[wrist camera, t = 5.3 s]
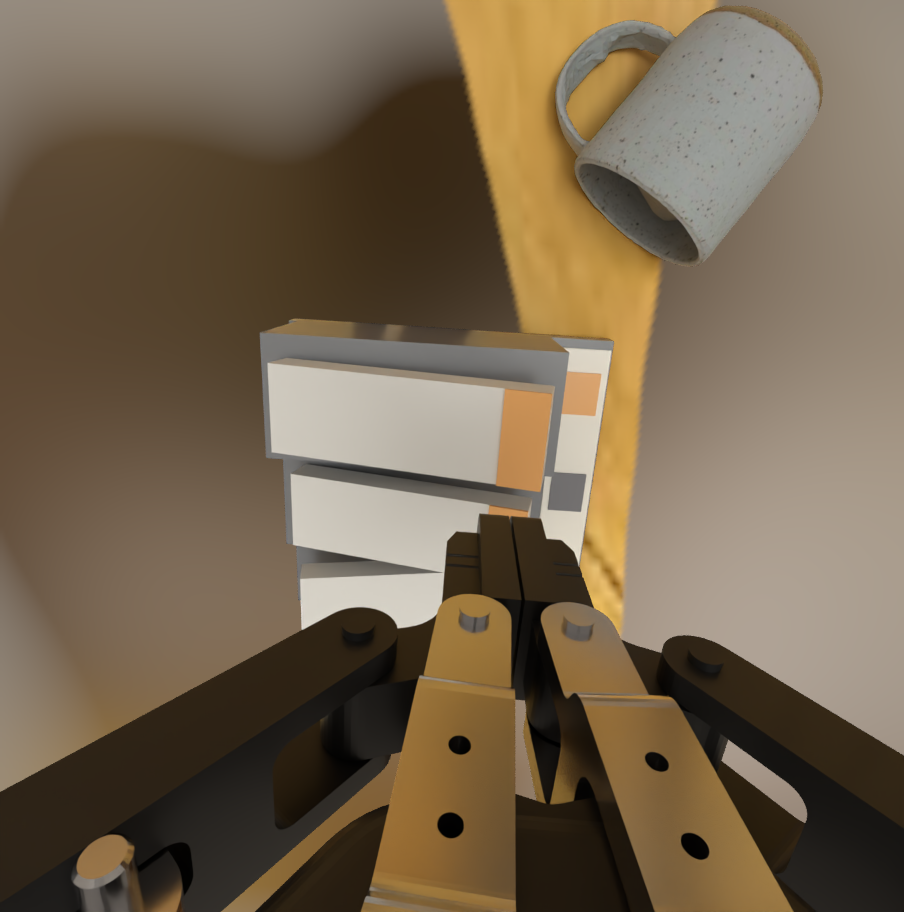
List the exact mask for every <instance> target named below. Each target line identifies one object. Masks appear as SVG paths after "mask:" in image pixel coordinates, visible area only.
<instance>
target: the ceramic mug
mask: <svg viewBox="0 0 904 912" xmlns="http://www.w3.org/2000/svg"><path fill="white" fill-rule="evenodd" d="M624 48H637V49H640V50H647V51H649V52H651V53H653V54H656V55H658V56H660V57H659V58H658V59H657V61H656V62H655V63H654V64H653V66H652V67H651V68H650V70H649V71H648V72H647V74H646V75H645V76H644V78H643V79H642V80H641V81H640V83H639V84H638V85H637V86H636V87H635V89H634V90H633V91H632V92H631V93H630V94H629V96H628V97H627V98H626V99H625V100H624V101H623V102H622V104H621V105H620V106H619V107H618V108H617V109H616V110H615V112H614V113H613V114H612V115H611V117H610V118H609V119H608V120H607V122H606V123H605V124H604V125H603V127H602V128H601V129H600V130H599V131H598V132H597V134H596V135H595V136H594V137H593V138H592V140H591V141H586V140H584V139H582V138H581V137H580V135H579V134H578V133H577V131H576V129H575V128H574V126H573V124H572V122H571V121H570V119H569V117H568V114H567V111H566V104H567V102H568V100H569V97H570V95H571V93H572V92H573V91H574V89H575V88H576V87H577V86H578V85H579V84H580V82H581V81H582V80H583V79H584V78H585V77H586V76H587V74H588V73H589V72H590V71H591V70H592V69H593V68H594V67H595V66H596V65H597V64H599V63H601V62H603V61H604V60H605V59H606V57H607V55H608V53H610V52H612V51H615V50H618V49H624ZM822 96H823V86H822V78H821V75H820V71H819V68H818V64H817V61H816V58H815V56H814V55H813V53H812V52H811V50H810V49H809V48H808V46H807V44H806V43H805V42H804V41H803V39H802V38H801V37H800V36H799V35H798V34H797V33H796V32H795V31H794V30H793V29H792V28H791V27H789V26H788V25H787V24H786V23H784V22H783V21H781V20H780V19H778V18H776V17H774V16H772V15H770V14H768V13H766V12H763V11H761V10H759V9H756V8H752V7H747V6H723V7H720V8H716V9H713V10H710V11H708V12H706V13H704V14H703V15H701V16H700V17H699V18H697V19H696V20H695V21H693V22H692V23H691V24H690V25H689V26H688V27H687V28H686V29H685V30H684V31H683V32H682V33H680V34H679V35H678V36H677V37H674V36H673V35H672V34H671V33H670V32H669V31H667V30H665V29H663V28H662V27H660V26H656V25H654V24H652V23H649V22H641V21H634V20H630V21H623V22H619V23H616V24H612V25H610V26H608V27H605V28H603V29H601V30H599V31H598V32H596V33H595V34H593V35H592V36H591V37H589V38H588V39H587V40H586V41H584V42H583V43H582V44H581V45H580V46H579V47H578V48H577V50H576V51H575V52H574V53H573V55H572V56H571V57H570V58H569V60H568V61H567V63H566V64H565V66H564V68H563V69H562V71H561V73H560V75H559V78H558V82H557V86H556V91H555V98H556V110H557V115H558V120H559V123H560V127H561V130H562V133H563V135H564V137H565V139H566V140H567V142H568V144H569V145H570V146H571V148H572V149H573V150H574V152H575V153H576V154H577V155H578V157H577V158H576V161H575V165H574V171H575V176H576V178H577V180H578V182H579V184H580V186H581V188H582V190H583V191H584V192H585V194H586V196H587V197H588V198H589V200H590V201H591V202H592V204H593V205H594V206H595V207H596V208H597V209H598V210H599V211H600V212H601V213H602V214H603V215H604V216H605V217H606V218H607V220H608V221H609V222H610V223H611V224H613V225H614V226H615V227H616V228H617V229H619V230H620V231H621V232H622V233H623V234H624V235H625V236H626V237H628V238H630V239H631V240H633V242H635V243H636V244H638V245H639V246H641V247H643V248H644V249H645V250H647V251H648V252H650V253H652V254H654V255H656V256H657V257H659V258H661V259H663V260H665V261H669V262H672V263H674V264H677V265H682V266H690V267H693V266H698V265H700V264H701V263H703V262H704V261H705V260H706V259H708V257H709V256H710V255H711V253H712V252H713V251H714V250H715V248H716V247H717V246H718V244H719V243H720V242H721V241H722V240H723V238H724V237H725V236H726V235H727V234H728V232H729V231H730V229H731V228H732V227H733V226H734V225H735V224H736V222H737V221H738V220H739V219H740V217H741V216H742V215H743V214H744V213H745V212H746V210H747V209H748V208H749V207H750V205H751V204H752V203H753V201H754V200H755V199H756V198H757V196H758V195H759V194H760V193H761V191H762V190H763V188H764V187H765V186H766V185H767V183H768V182H769V181H770V180H771V179H772V177H773V176H774V175H775V174H776V173H777V172H778V171H779V169H780V168H781V167H782V166H783V164H784V163H785V162H786V161H787V160H788V158H789V157H790V156H791V155H792V153H793V152H794V151H795V149H796V148H797V147H798V145H799V144H800V143H801V142H802V140H803V138H804V137H805V135H806V133H807V131H808V130H809V128H810V126H811V125H812V123H813V121H814V120H815V118H816V116H817V113H818V111H819V109H820V106H821V102H822Z"/></svg>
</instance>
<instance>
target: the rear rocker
mask: <svg viewBox="0 0 904 912" xmlns="http://www.w3.org/2000/svg"><path fill="white" fill-rule="evenodd" d="M443 583H444V573H443V572H437V571H432V570H426V569H421V568H416V567H410V566H405V565H399V564H394V563H389V562H383V561H361V562H335V563H309V564H302V569H301V576H300V590H301V621H302V630H303V629H305V628H307V627H309V626H311V625H312V624H314V623H316V622H318V621H320V620H322V619H324V618H326V617H327V616H329V615H331V614H333V613H335V612H337V611H340V610H343V609H347V608H354V607H366V608H373V609H377V610H380V611H382V612H384V613H386V614H388V615H389V616H390V617H391V618H392V619H393V620H394V621H395V623H396V624H397V628H404V627H411V626H416V625H419V624H422V623H424V622H427V621H428V620H430V619H432V618H433V617H434V616H435V615H436V614H437V612H438V609H439V606H440V605H441V604H442V595H443Z"/></svg>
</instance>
